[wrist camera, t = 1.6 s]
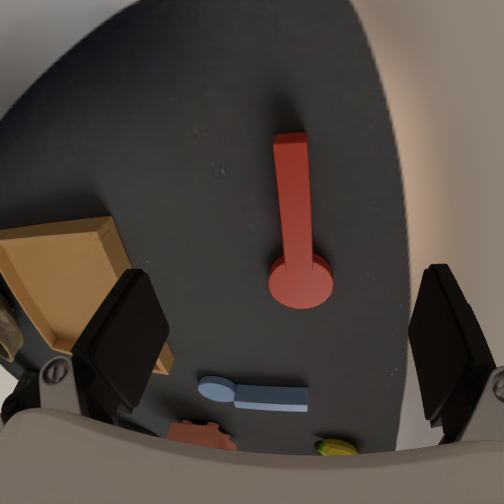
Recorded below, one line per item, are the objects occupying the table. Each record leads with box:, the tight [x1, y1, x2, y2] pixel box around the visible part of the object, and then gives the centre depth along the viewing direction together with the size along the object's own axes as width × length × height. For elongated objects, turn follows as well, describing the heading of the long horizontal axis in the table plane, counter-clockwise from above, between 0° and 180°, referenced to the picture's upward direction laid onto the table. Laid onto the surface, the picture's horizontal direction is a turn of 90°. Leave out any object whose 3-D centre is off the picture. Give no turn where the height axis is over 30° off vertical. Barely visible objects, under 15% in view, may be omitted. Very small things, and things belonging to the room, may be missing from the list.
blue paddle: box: [198, 376, 309, 412], centre depth 27 cm, size 11×4×2 cm, turn 98°
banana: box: [314, 439, 358, 456], centre depth 38 cm, size 5×17×15 cm
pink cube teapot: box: [166, 420, 237, 451], centre depth 35 cm, size 8×12×8 cm, turn 109°
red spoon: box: [268, 132, 334, 309], centre depth 16 cm, size 11×4×2 cm, turn 8°
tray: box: [0, 216, 175, 375], centre depth 24 cm, size 15×16×2 cm
